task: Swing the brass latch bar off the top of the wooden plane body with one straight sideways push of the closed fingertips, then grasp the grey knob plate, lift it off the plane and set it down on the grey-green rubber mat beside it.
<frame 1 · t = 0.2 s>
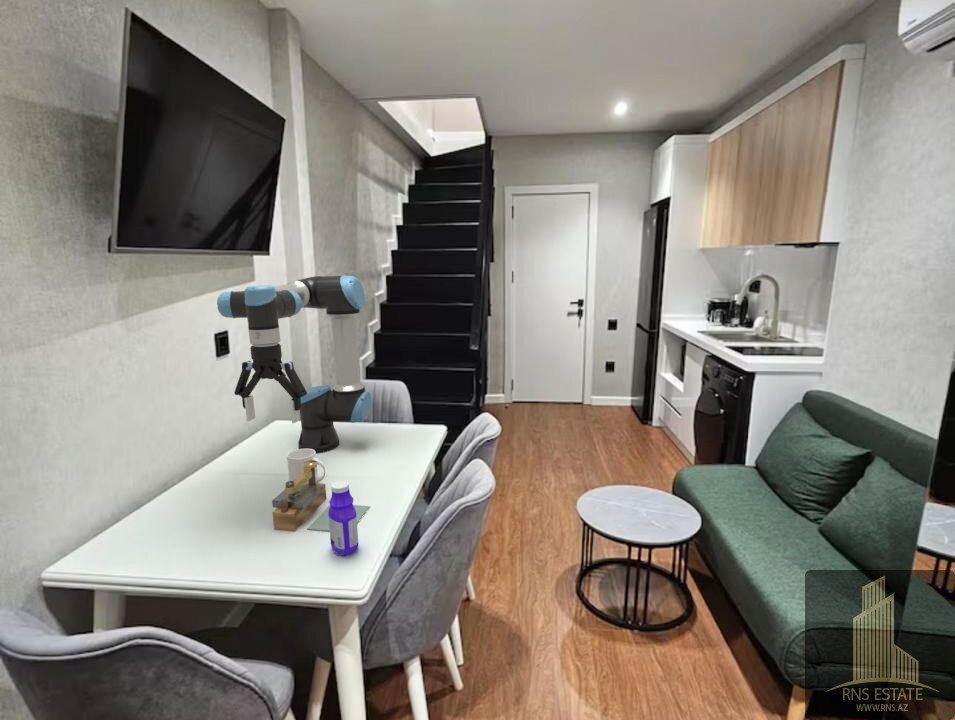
hand: (273, 420, 137), 27 cm above the table, fingers open, 13 cm apart
plane body: (301, 513, 142), on the table
lever: (301, 476, 141), point 10 cm above the table, hinge at 0.0°
grey knob plate: (297, 499, 139), point 5 cm above the table, touching plane body
mat: (339, 518, 139), on the table
bottle: (345, 550, 124), on the table
mug: (309, 486, 159), on the table
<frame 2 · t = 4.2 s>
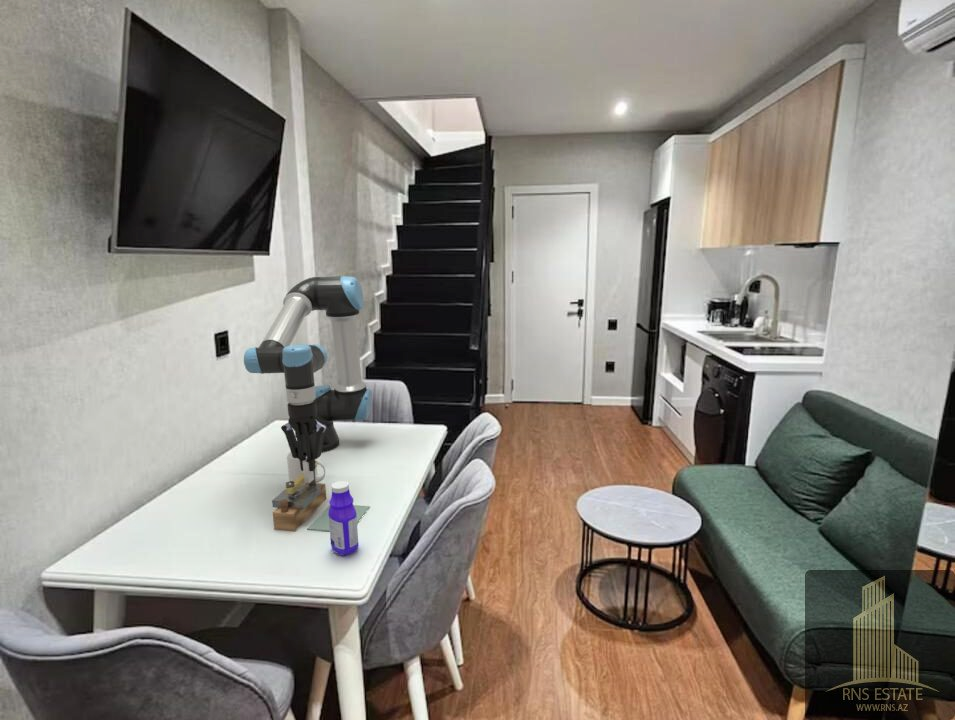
hand: (309, 480, 142), 9 cm above the table, fingers closed
lever: (301, 476, 141), point 10 cm above the table, hinge at 0.0°, touching gripper
everything else where it was.
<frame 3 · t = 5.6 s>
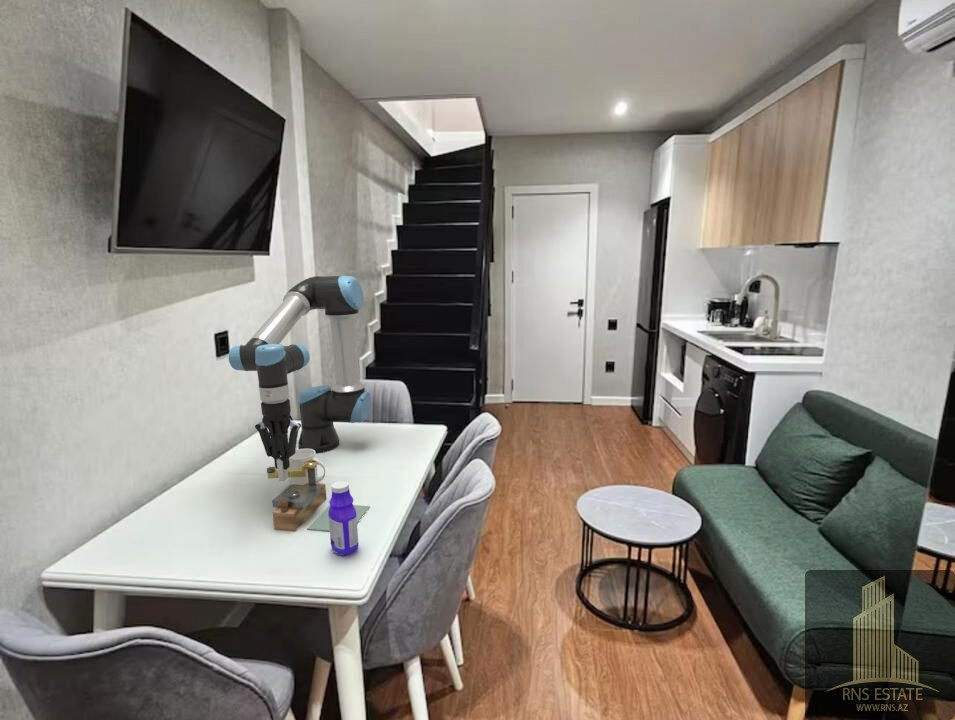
hand: (283, 479, 143), 9 cm above the table, fingers closed
lever: (292, 469, 146), point 10 cm above the table, hinge at 73.5°, touching gripper
everything else where it was.
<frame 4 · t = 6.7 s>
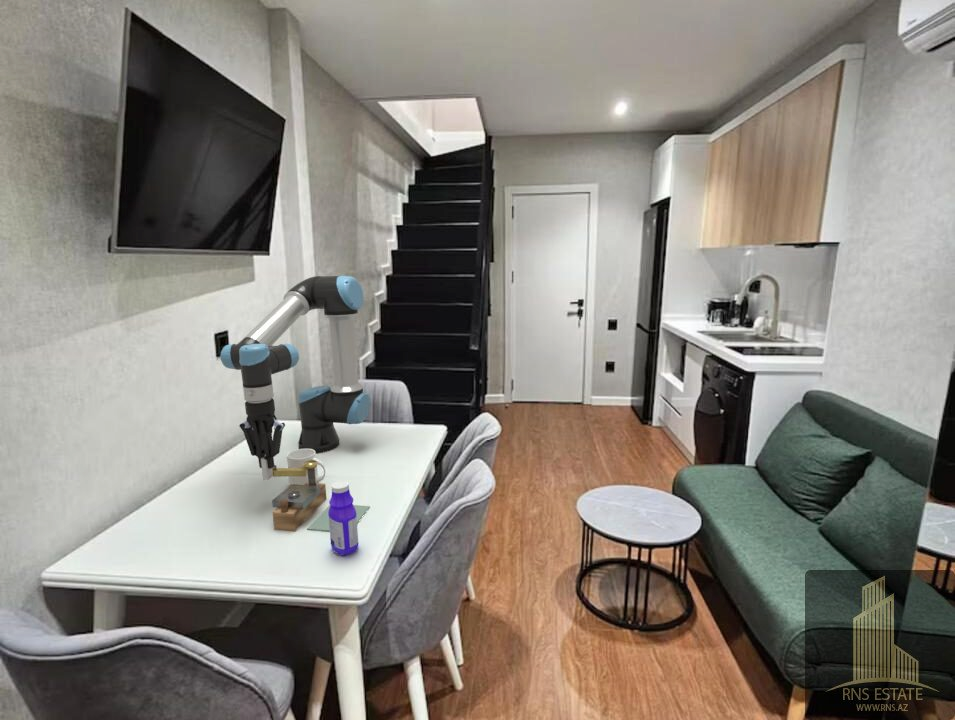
hand: (268, 478, 144), 9 cm above the table, fingers closed
lever: (292, 468, 146), point 10 cm above the table, hinge at 80.2°, touching gripper
everything else where it was.
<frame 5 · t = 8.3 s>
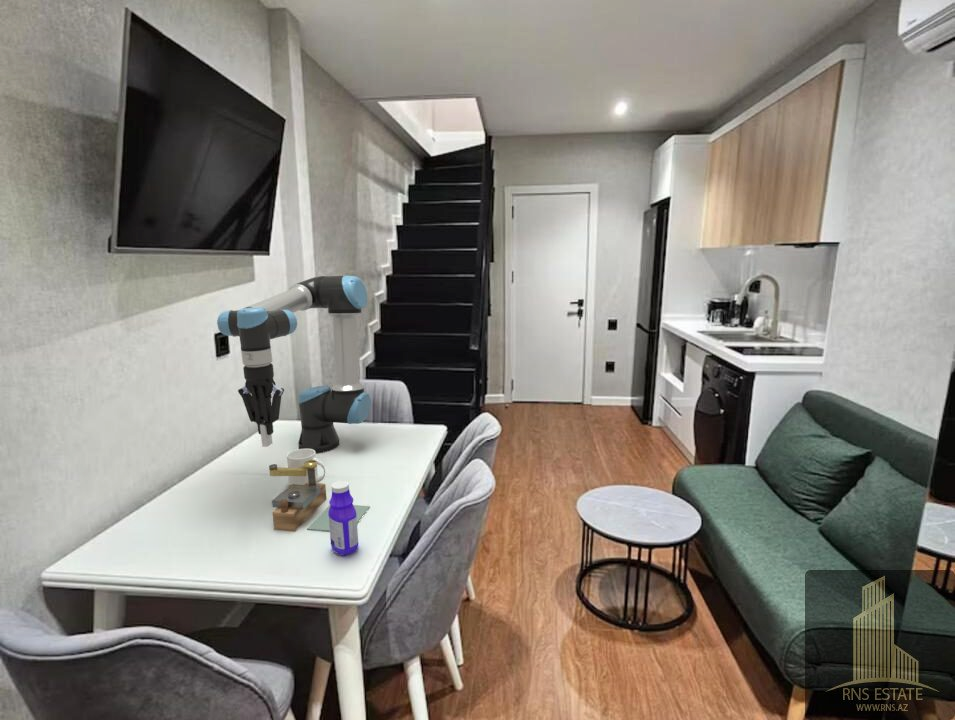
hand: (267, 444, 142), 19 cm above the table, fingers closed
lever: (293, 468, 147), point 10 cm above the table, hinge at 82.8°
everything else where it was.
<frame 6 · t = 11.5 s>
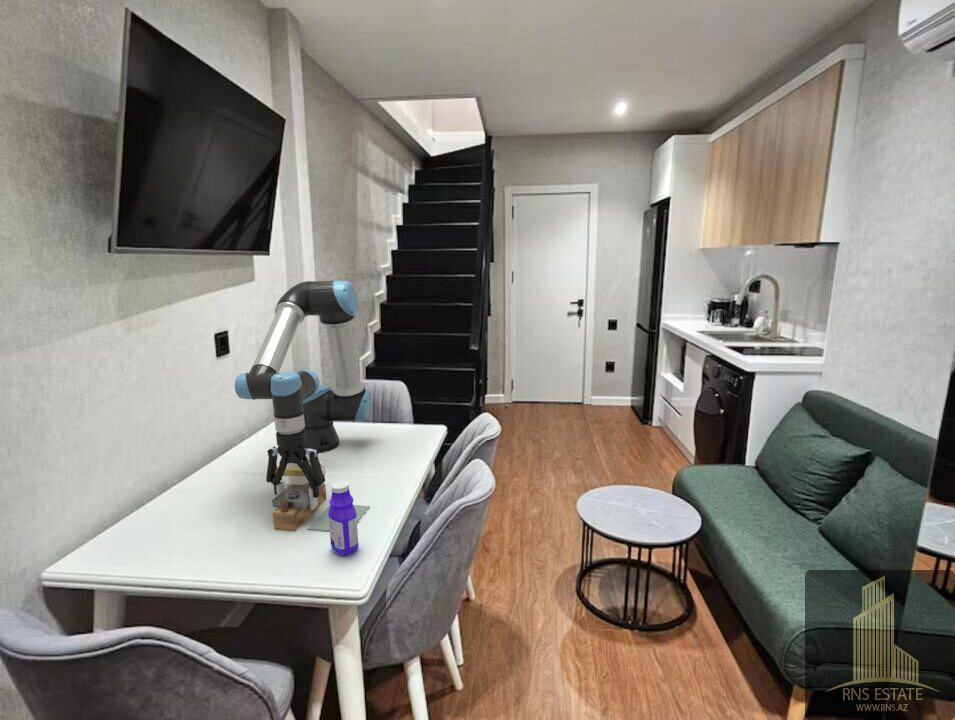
hand: (298, 506, 140), 3 cm above the table, fingers closed on grey knob plate, 9 cm apart
grey knob plate: (297, 499, 139), point 5 cm above the table, touching gripper, plane body
everything else where it was.
when the fingers open (1 cm above the table, at t = 17.7 s): grey knob plate drops 3 cm, resting on mat.
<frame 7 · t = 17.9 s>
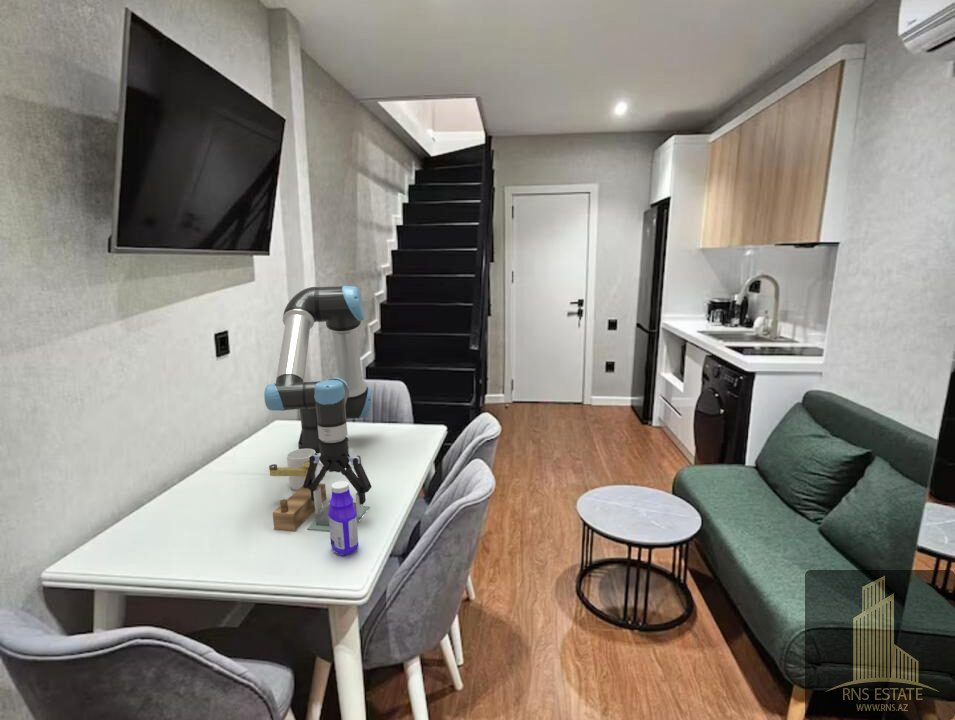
hand: (339, 512, 138), 2 cm above the table, fingers open, 11 cm apart
grey knob plate: (339, 516, 139), resting on mat
everything else where it was.
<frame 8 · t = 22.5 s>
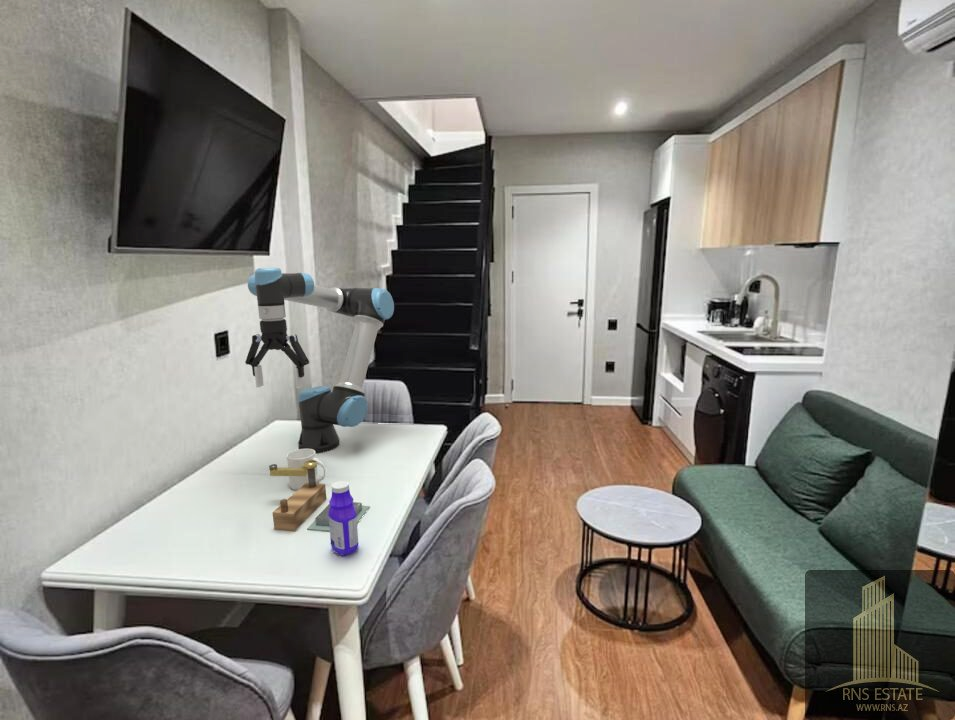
hand: (279, 386, 156), 32 cm above the table, fingers open, 13 cm apart
nothing on the table moved.
at the end: lever at +83° (first picture: +0°); grey knob plate inside the target area (0.0 cm from its centre), resting on mat; grey knob plate touching mat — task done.
